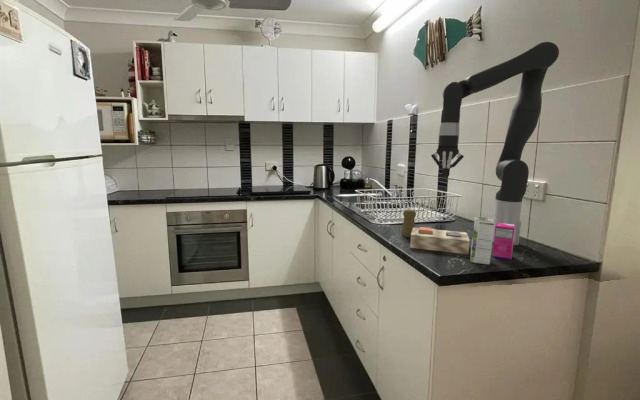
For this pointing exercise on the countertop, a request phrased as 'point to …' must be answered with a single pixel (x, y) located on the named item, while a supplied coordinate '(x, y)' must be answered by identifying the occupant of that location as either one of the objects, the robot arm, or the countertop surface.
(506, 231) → the supplement box
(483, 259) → the syrup box
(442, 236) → the block
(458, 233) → the grey plug
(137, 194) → the countertop surface
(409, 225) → the cork
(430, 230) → the terracotta plug
